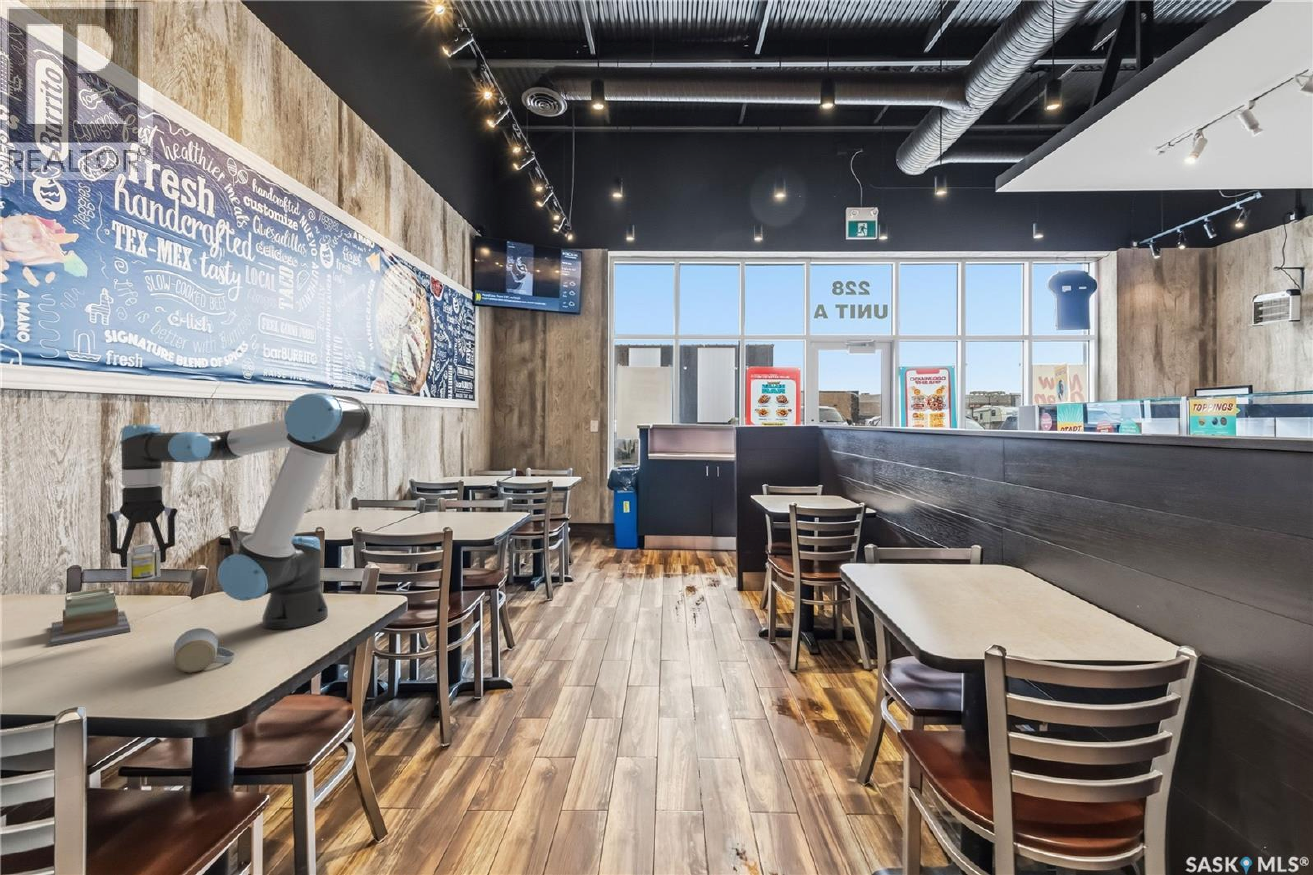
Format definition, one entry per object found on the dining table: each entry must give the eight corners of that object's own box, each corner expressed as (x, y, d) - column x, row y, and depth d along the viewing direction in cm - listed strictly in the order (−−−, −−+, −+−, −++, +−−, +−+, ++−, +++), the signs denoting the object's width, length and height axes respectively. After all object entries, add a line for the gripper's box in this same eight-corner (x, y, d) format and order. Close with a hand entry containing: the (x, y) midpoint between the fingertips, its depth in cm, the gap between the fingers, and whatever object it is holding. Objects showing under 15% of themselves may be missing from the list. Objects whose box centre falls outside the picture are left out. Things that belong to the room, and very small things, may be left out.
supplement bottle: (141, 577, 146) (141, 544, 146) (161, 576, 147) (160, 543, 147) (125, 581, 142) (125, 548, 142) (146, 581, 142) (145, 547, 142)
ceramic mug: (172, 678, 119) (173, 641, 119) (173, 666, 125) (174, 631, 125) (235, 666, 125) (236, 631, 125) (233, 655, 132) (234, 622, 132)
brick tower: (130, 631, 147) (130, 595, 147) (51, 646, 137) (50, 607, 137) (124, 615, 161) (123, 581, 161) (51, 627, 151) (51, 591, 150)
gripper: (185, 482, 153) (186, 569, 153) (92, 487, 140) (93, 582, 140) (189, 484, 148) (191, 573, 148) (93, 489, 135) (95, 587, 135)
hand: (143, 577), depth 144 cm, fingers closed on supplement bottle, 5 cm apart
